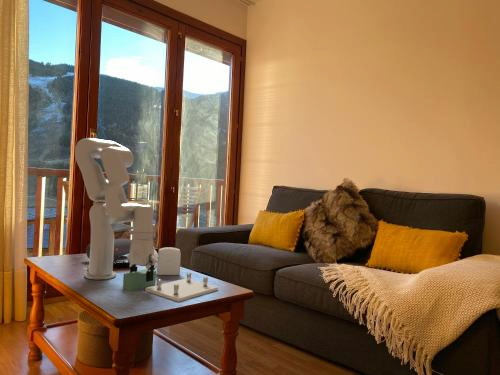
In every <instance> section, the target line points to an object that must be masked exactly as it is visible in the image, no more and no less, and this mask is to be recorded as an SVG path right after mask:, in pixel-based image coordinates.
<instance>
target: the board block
mask: <svg viewBox="0 0 500 375" xmlns="http://www.w3.org/2000/svg"><path fill="white" fill-rule="evenodd" d="M146 271H147V269H141V270H137V271H134V272H130V271H128V272H124V273H123V278H122V289H124V290H127V291H129V292H133V291H137V290H142V289H146V288H147V287H152V286H156V282H157V281H156V279H157V278H156V277H157V270H154V274H153V281H149V282H146Z"/></svg>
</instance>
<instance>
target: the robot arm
mask: <svg viewBox="0 0 500 375" xmlns="http://www.w3.org/2000/svg"><path fill="white" fill-rule="evenodd" d="M74 158H75V161H76V163H77V166H78V167H79V170H80V172H81V176H82V179H83V182H84V187H85V189H86V190H85V191H86V192H87V193H86V194H87V197H88V199H90V200H91V201H93V202H98V203H95V204H93V205H92V206H91V207H90V209H89V215H88V216H89V222H90V243H89V244H90V259H89V260H88V261H89V263H88V264H86V265H85V268H86V269H88V270H87V272H85V273H84V278H85V279H88V280H89V279H90V280H95V281H96V280H97V281H98V280H101V281H102V280H110V279H113V278H116V276H117V272H116V271H113V269H114V267H113V266H114V259H113V254H114V239H115V232H114V229H113V227H112V225H118V224H124V223H131V222H132V223H133V226H132V228H133V230H132V231H133V232H132V238H131V245H130V254H127V256H126V257H127V263H128V266H129V272H134V271H138V266H140V267H145V266H146V267H145V268H146V269H147V271H146V282H149V281H153V274H154V271H156V269H157V263H158V258H157V259H156V258H155V257H154V250H155V246H154V239H153V231H154V230H153V228H154V207H153V205H150V204H140V203H136V202H132V203H130V202H128V200H127V196H126V193H125V188H124V187H123V186H125V185H127V184H128V183H129V181H130V175H129V172H128V169H127V168H130V167H131V166H132V165H133V164H134V162H135V161H134V159H135V156H134V153H133V152H132V151H131V150H130V149H129V148H127V147H125V146H123V145H121V144H119V143H117V142H116V141H113V140H106V139H100V138H93V137H87V138H82V139H80V140H79V141H77V143H76V145H75V150H74ZM96 159H100V161H101V164H102V167H103V168H102V167H101V165H100V163H98V162H97V161H96ZM103 169H104V171H103ZM104 173H105V174H104ZM105 175H106V176H105ZM149 266H150V267H149Z"/></svg>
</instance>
